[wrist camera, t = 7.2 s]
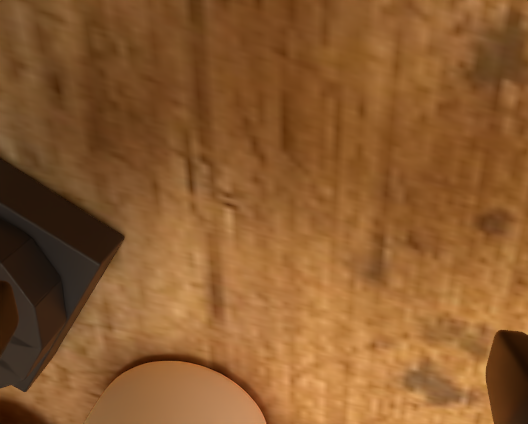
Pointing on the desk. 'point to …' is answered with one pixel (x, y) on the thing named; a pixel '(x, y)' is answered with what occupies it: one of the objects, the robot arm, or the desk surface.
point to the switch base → (45, 269)
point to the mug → (174, 397)
